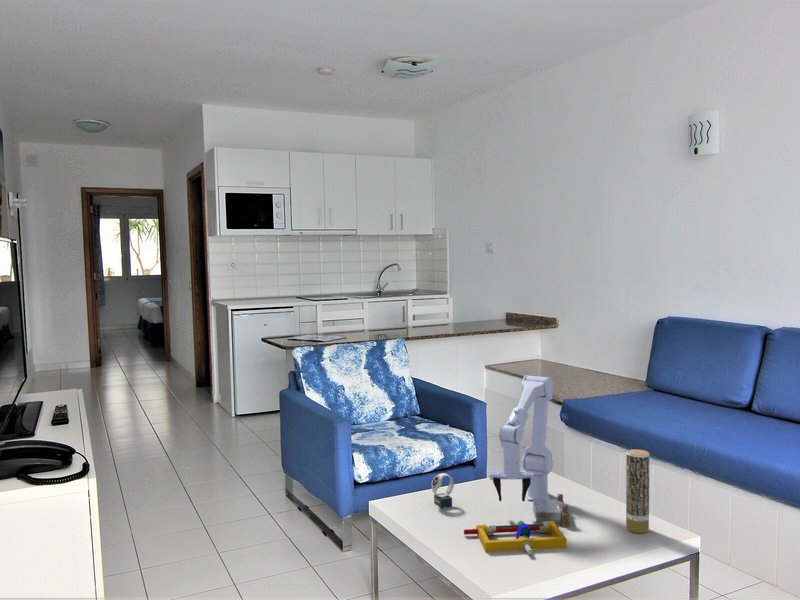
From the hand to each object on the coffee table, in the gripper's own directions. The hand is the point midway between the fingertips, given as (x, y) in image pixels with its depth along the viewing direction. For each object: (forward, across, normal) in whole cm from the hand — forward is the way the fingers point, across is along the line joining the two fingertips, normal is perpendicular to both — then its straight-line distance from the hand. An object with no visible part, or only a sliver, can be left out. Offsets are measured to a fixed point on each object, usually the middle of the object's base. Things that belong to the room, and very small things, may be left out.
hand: (511, 500), depth 226 cm
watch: (+6, -23, +9) cm, 26 cm away
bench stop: (+6, +17, -1) cm, 18 cm away
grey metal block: (+6, +12, 0) cm, 13 cm away
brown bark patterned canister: (+6, +39, -10) cm, 40 cm away
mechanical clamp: (+6, 0, -21) cm, 22 cm away
